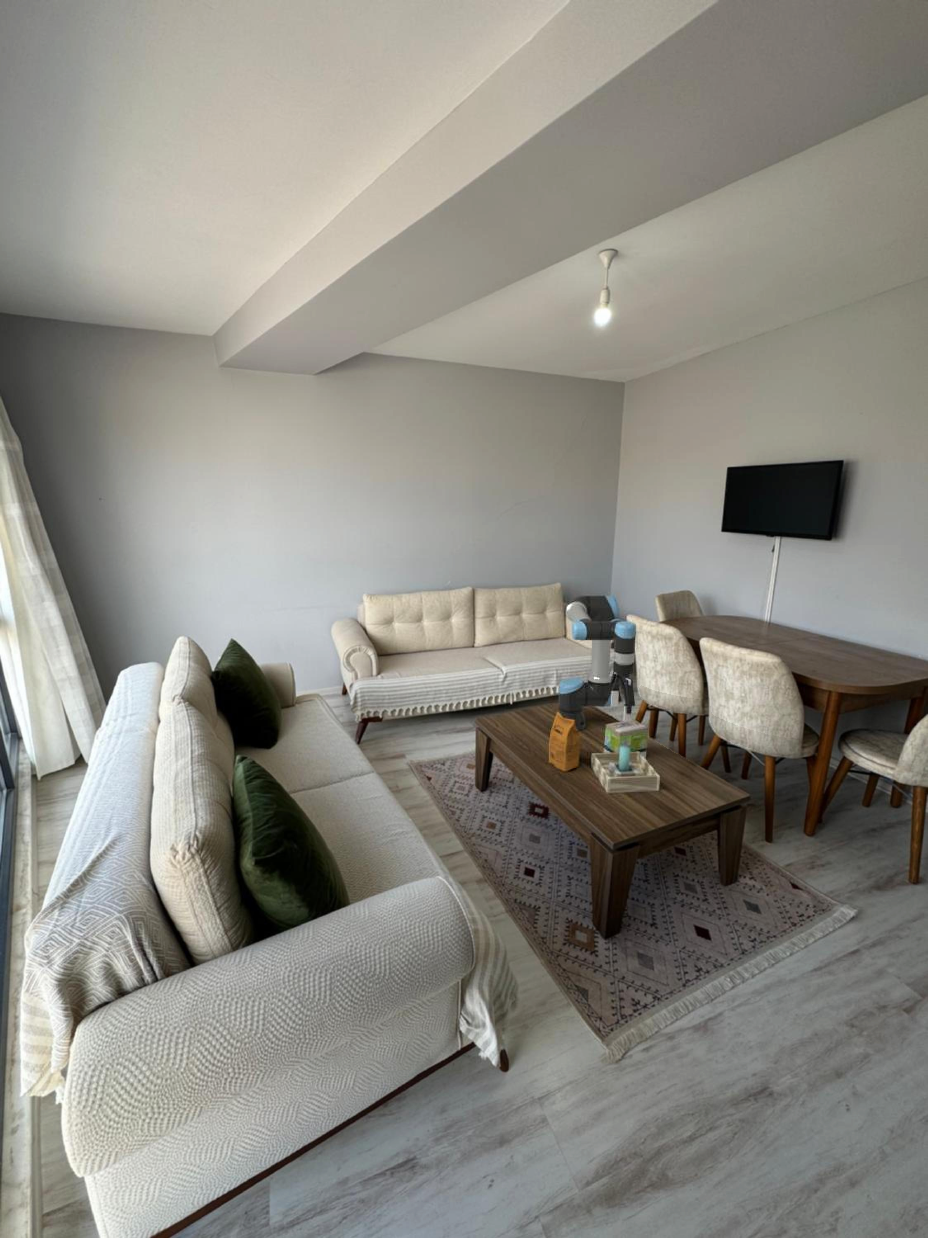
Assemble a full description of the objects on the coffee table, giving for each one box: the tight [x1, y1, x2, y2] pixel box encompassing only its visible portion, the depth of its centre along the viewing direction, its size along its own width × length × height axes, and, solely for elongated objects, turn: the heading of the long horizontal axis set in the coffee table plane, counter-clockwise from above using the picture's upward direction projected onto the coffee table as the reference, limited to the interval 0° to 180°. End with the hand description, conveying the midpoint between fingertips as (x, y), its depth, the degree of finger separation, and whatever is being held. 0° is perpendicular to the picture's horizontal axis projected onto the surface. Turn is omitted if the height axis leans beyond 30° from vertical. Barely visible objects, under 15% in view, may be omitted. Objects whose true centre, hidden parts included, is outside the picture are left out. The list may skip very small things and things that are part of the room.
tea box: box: [603, 718, 649, 759], centre depth 216 cm, size 15×10×15 cm, turn 112°
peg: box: [619, 746, 630, 772], centre depth 199 cm, size 4×4×12 cm
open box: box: [590, 751, 661, 794], centre depth 200 cm, size 20×20×6 cm
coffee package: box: [548, 711, 581, 772], centre depth 210 cm, size 10×12×22 cm
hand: (620, 713), depth 199 cm, fingers open, 13 cm apart
